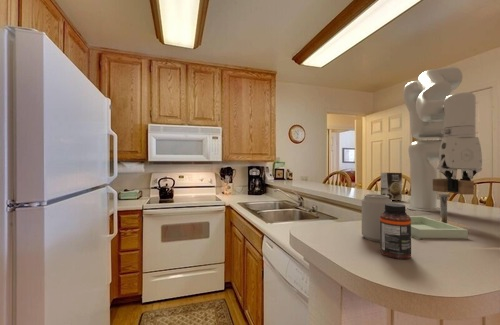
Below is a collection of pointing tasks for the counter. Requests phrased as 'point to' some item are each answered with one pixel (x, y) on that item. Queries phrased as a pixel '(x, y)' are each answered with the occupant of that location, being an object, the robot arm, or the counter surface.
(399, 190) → the coffee box
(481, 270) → the counter surface
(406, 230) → the supplement bottle
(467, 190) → the brown wooden block
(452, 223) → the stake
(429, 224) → the tray
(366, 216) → the can
